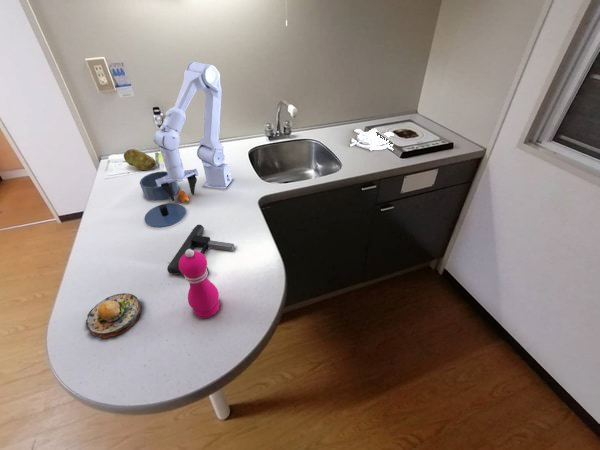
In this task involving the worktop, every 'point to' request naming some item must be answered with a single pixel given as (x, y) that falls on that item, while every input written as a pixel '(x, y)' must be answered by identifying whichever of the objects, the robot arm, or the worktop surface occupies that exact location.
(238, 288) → the worktop surface
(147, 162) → the potato
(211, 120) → the robot arm
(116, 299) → the burger on plate
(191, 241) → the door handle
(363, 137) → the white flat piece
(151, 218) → the lid
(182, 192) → the carrot
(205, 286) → the pepper mill
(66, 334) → the worktop surface
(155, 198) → the pot
